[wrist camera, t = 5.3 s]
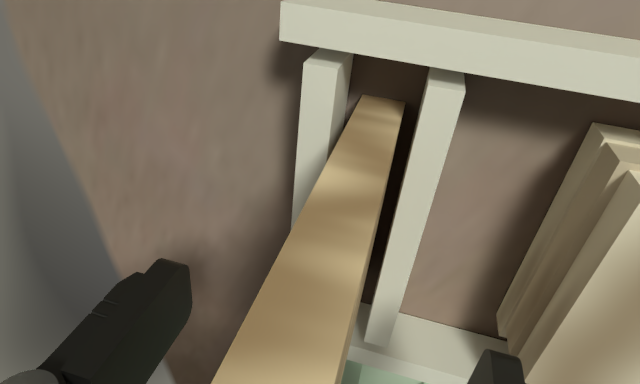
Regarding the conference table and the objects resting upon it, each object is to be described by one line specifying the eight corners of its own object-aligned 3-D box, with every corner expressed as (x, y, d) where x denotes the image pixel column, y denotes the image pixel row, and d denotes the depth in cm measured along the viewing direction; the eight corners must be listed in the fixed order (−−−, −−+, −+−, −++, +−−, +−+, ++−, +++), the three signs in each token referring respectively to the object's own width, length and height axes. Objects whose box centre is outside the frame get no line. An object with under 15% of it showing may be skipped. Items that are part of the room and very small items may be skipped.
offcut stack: (775, 155, 12) (878, 228, 9) (621, 346, 17) (656, 433, 14) (592, 121, 13) (634, 179, 10) (496, 313, 18) (505, 389, 15)
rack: (912, 81, 11) (1022, 118, 9) (629, 391, 18) (651, 449, 16) (307, -10, 13) (280, 1, 11) (284, 295, 21) (266, 335, 19)
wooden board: (405, 102, 14) (306, 491, 4) (367, 271, 19) (276, 652, 9) (362, 93, 14) (177, 446, 5) (335, 262, 19) (211, 625, 9)
